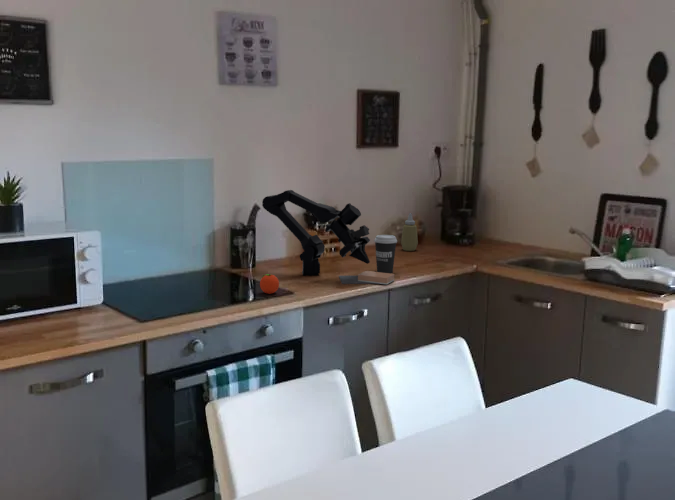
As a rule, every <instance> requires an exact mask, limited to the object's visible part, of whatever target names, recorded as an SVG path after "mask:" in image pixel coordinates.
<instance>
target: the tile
mask: <svg viewBox="0 0 675 500" xmlns="http://www.w3.org/2000/svg"><path fill="white" fill-rule="evenodd" d="M357 275H358V281H362V282H371V283H378V284H381V285H389V284H390V283H392V282H394V281H395V273H382V272H377V271H370V270H365V271H362V272H361V273H358V274H357Z"/></svg>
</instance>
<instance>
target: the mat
mask: <svg viewBox="0 0 675 500" xmlns="http://www.w3.org/2000/svg"><path fill="white" fill-rule="evenodd" d="M338 278H339V281H340V283H341V285H349V284H350V285H353V284H354V285H358V284H359V285H361V284H362V285H365V284H367V285H368V284H371V285H372V284H375V285H376V284H379V283H371V282H362V281H358V274H356V275H355V274H354V275H338Z"/></svg>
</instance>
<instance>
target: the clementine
mask: <svg viewBox="0 0 675 500" xmlns="http://www.w3.org/2000/svg"><path fill="white" fill-rule="evenodd" d="M259 281H260V282H259V287H260V289H261V291H263V293H265V294H267V295H268V294H269V295H270V294H274V293H276V292H277V291H278V289H279V287H280V281H279V278H278V277H276V275H274V274H270V273H267V274H263V275H262V276H261V278H260V280H259Z"/></svg>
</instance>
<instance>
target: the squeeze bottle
mask: <svg viewBox="0 0 675 500" xmlns="http://www.w3.org/2000/svg"><path fill="white" fill-rule="evenodd" d="M400 239H401V240H400V244H401V246H402V247H401V248H402V250H403V251H405V252H414V251H416V249H417V247H418V244H419V241H418V226H417V225H416V220H414V219H413V214H412V213H411V212H409V214H408V215H407V220H405V222H404V225H403V226H402V233H401V238H400Z"/></svg>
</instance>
